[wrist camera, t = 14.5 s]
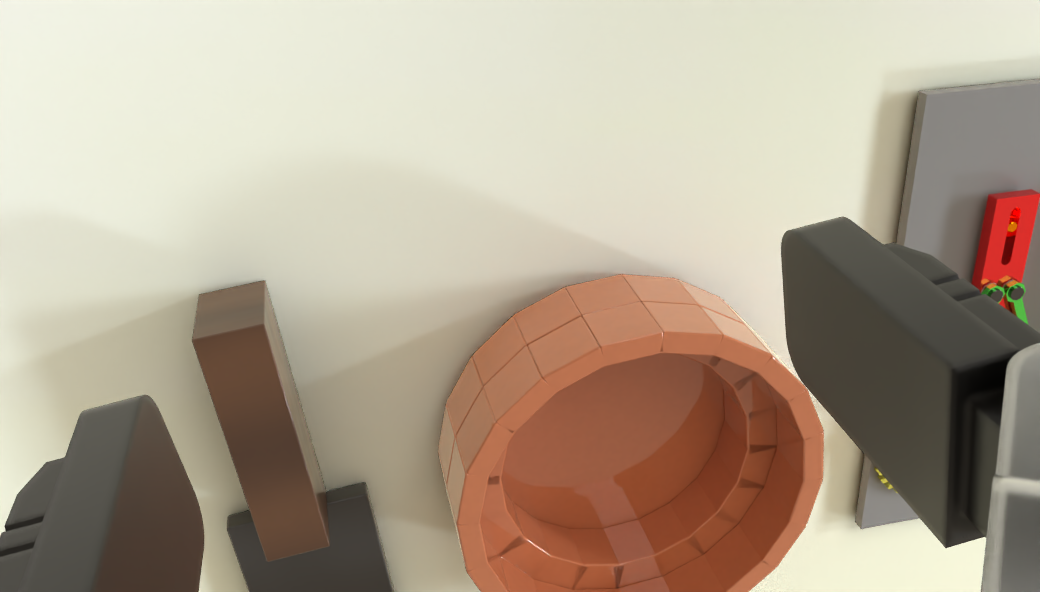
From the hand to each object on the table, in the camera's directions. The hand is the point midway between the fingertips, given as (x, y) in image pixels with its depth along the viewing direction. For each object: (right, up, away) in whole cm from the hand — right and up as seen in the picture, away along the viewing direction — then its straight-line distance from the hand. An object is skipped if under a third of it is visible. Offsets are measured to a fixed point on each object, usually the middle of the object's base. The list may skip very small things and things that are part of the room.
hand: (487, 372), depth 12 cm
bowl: (+4, -4, +26) cm, 27 cm away
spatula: (-8, -7, +25) cm, 27 cm away
